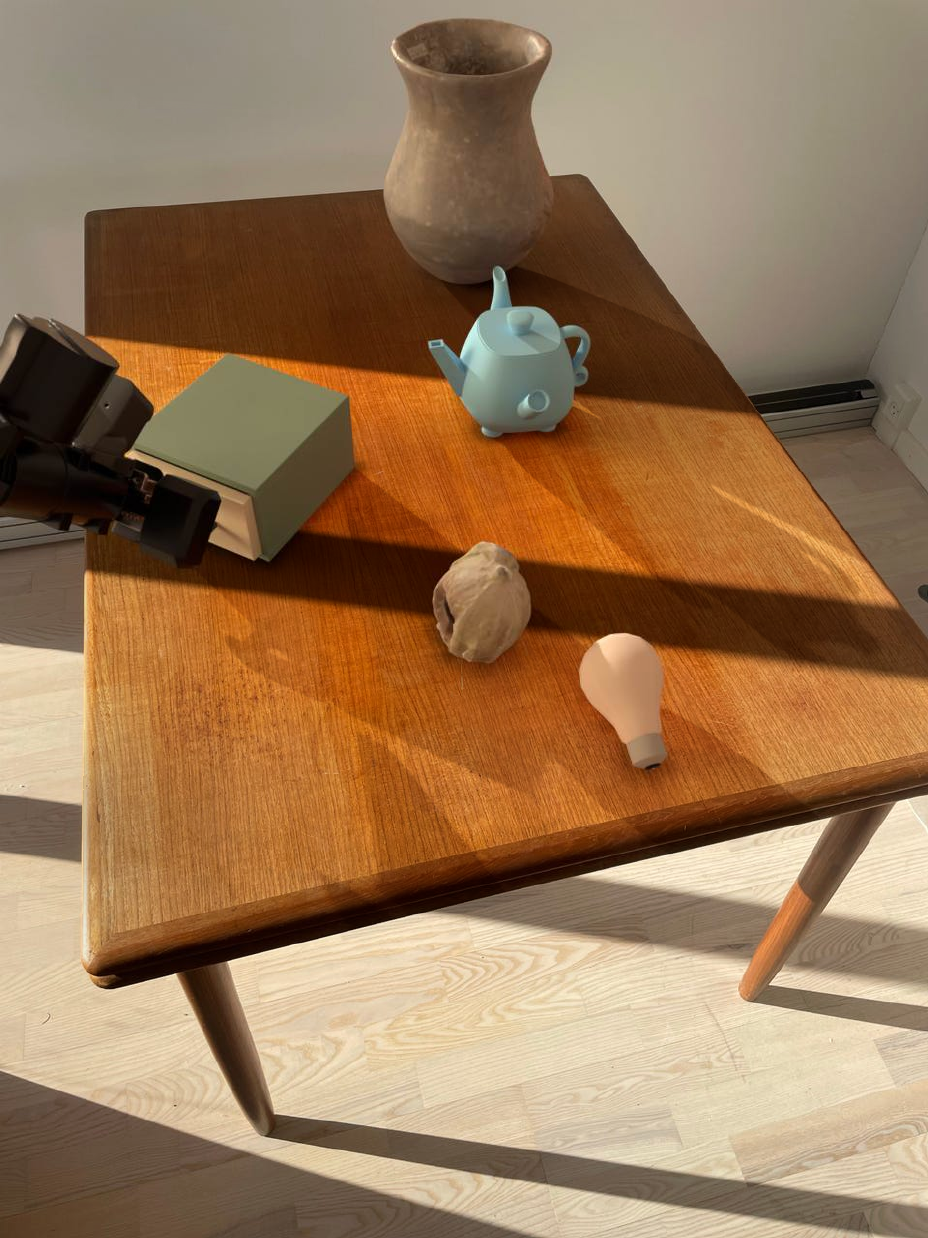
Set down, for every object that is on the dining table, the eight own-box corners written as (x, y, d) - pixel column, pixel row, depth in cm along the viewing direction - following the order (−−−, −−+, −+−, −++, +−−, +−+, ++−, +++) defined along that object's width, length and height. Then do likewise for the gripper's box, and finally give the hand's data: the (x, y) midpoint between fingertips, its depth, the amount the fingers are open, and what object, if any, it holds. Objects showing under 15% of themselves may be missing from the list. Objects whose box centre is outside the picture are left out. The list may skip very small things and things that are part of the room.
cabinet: (269, 562, 86) (256, 490, 80) (148, 511, 90) (125, 438, 84) (355, 467, 95) (349, 395, 88) (240, 424, 99) (227, 352, 92)
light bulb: (701, 746, 69) (651, 610, 73) (613, 771, 69) (568, 633, 73) (690, 767, 75) (645, 640, 79) (609, 790, 75) (568, 661, 79)
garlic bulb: (467, 616, 86) (474, 513, 81) (550, 648, 82) (563, 541, 77) (403, 660, 79) (407, 549, 74) (490, 697, 75) (500, 583, 70)
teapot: (412, 413, 100) (411, 317, 92) (491, 354, 108) (497, 260, 99) (532, 477, 95) (543, 380, 86) (608, 409, 102) (624, 314, 93)
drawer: (225, 593, 83) (211, 536, 77) (111, 543, 86) (90, 486, 81) (336, 472, 93) (331, 415, 88) (230, 431, 96) (219, 374, 91)
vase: (372, 303, 113) (361, 74, 94) (400, 223, 126) (395, 6, 107) (540, 319, 112) (563, 91, 93) (551, 237, 125) (573, 20, 105)
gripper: (179, 407, 63) (292, 445, 78) (-36, 325, 68) (109, 376, 83) (127, 568, 64) (248, 575, 79) (-80, 476, 69) (71, 499, 84)
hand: (168, 501), depth 81 cm, fingers closed
